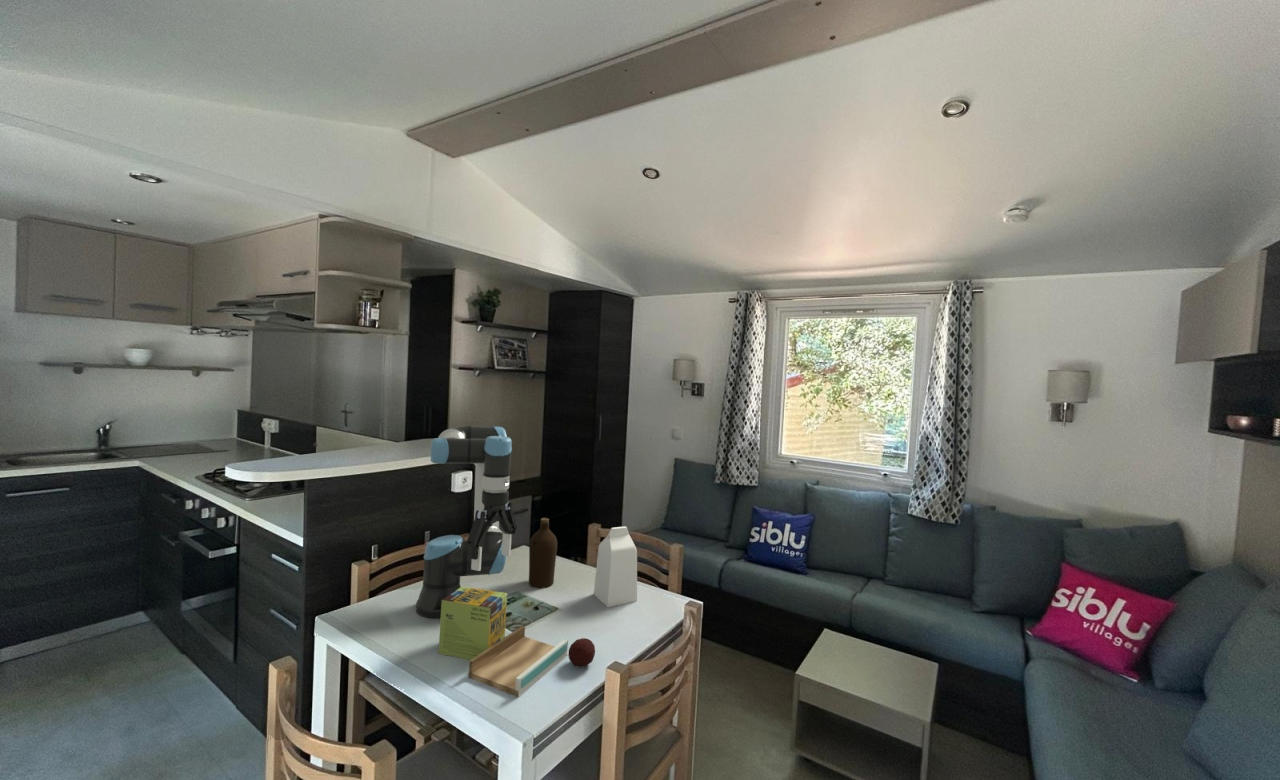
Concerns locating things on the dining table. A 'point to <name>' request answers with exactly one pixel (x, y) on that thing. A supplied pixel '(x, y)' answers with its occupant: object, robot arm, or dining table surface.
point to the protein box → (471, 622)
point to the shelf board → (511, 664)
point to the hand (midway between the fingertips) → (491, 562)
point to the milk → (616, 569)
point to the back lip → (496, 649)
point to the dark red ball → (581, 652)
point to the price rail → (541, 667)
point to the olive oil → (542, 556)
